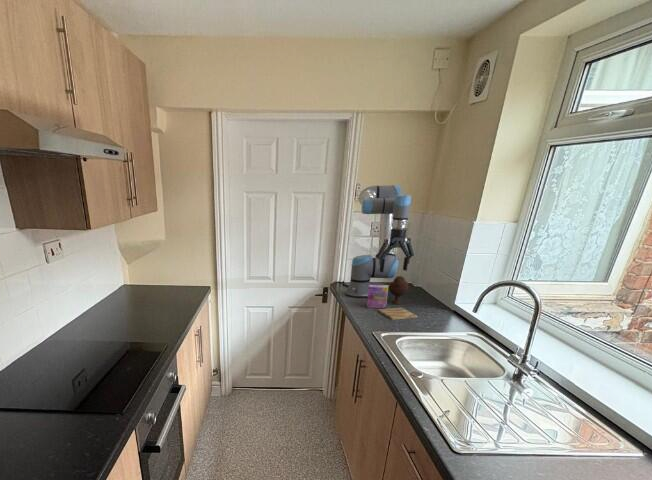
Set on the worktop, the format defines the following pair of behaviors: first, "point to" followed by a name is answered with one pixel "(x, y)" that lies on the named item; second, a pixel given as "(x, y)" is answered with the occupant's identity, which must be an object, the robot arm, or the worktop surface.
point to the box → (377, 296)
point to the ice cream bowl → (398, 288)
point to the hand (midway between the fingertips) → (393, 271)
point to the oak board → (397, 313)
